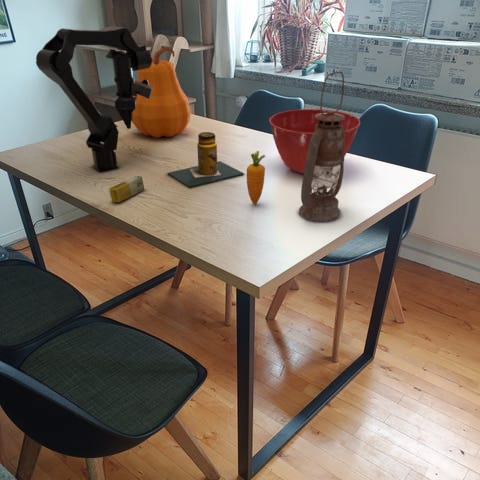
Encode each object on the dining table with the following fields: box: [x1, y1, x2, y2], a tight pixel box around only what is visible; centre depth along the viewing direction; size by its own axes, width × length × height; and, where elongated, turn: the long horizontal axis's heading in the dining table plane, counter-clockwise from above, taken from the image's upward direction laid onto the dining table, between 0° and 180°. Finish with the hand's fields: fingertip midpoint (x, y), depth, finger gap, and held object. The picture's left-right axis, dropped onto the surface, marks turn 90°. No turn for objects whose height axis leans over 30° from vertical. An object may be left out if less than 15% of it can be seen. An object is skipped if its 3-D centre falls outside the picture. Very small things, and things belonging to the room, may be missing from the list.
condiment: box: [190, 131, 221, 178], centre depth 153 cm, size 7×8×12 cm
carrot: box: [246, 150, 266, 206], centre depth 134 cm, size 5×5×15 cm
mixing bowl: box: [268, 108, 361, 176], centre depth 158 cm, size 28×28×16 cm
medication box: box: [108, 175, 145, 203], centre depth 141 cm, size 12×3×4 cm, turn 152°
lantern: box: [298, 71, 345, 223], centre depth 123 cm, size 11×16×35 cm
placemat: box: [167, 160, 244, 189], centre depth 157 cm, size 20×14×1 cm
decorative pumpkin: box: [131, 46, 192, 139], centre depth 185 cm, size 24×24×30 cm
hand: (129, 124), depth 164 cm, fingers open, 9 cm apart
